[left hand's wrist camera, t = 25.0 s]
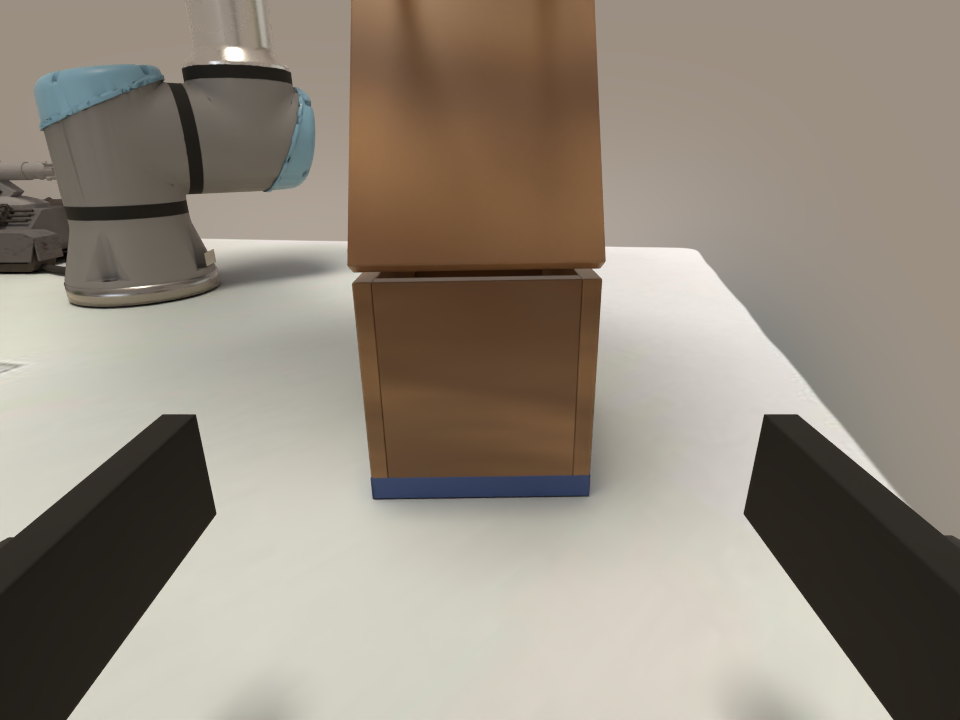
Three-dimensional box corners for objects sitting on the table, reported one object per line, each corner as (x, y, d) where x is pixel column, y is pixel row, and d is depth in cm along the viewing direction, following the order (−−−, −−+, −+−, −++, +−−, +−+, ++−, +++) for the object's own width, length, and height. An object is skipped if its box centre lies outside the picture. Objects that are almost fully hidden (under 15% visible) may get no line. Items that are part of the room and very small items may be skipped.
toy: (-126, 273, 76) (-173, 159, 71) (2, 249, 95) (-28, 158, 90) (43, 272, 74) (8, 155, 69) (140, 249, 93) (118, 155, 88)
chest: (411, 375, 38) (402, 232, 35) (549, 372, 38) (553, 230, 34) (372, 498, 24) (350, 282, 21) (588, 495, 24) (602, 278, 21)
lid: (357, -76, 23) (278, -387, 14) (586, -81, 23) (650, -395, 14) (352, 273, 21) (259, 165, 12) (600, 268, 21) (684, 158, 12)
